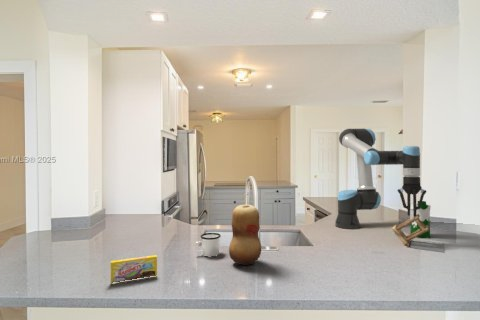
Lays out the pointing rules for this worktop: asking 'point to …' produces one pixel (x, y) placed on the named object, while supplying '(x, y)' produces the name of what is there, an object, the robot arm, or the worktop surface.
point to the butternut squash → (245, 235)
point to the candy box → (133, 268)
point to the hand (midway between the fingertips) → (412, 222)
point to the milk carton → (422, 218)
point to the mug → (210, 244)
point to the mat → (427, 246)
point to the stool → (405, 238)
